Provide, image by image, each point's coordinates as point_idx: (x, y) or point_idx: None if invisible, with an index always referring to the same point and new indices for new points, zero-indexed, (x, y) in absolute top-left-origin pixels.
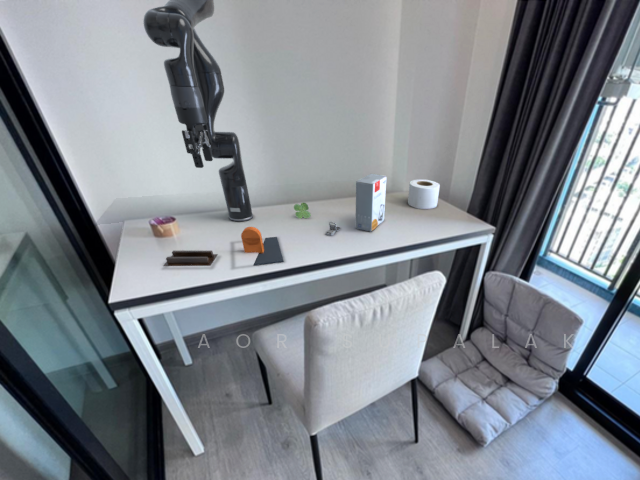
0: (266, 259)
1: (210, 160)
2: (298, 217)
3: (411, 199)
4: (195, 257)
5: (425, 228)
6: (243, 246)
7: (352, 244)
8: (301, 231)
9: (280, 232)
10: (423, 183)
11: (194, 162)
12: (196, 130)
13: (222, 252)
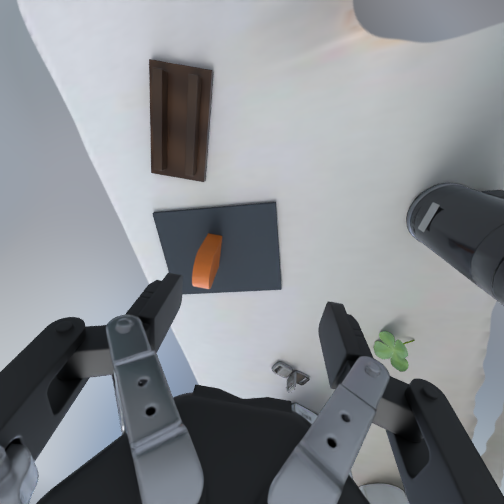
0: (179, 269)
1: (321, 324)
2: (382, 332)
3: (379, 498)
4: (157, 143)
5: None
6: (204, 240)
7: (233, 386)
8: (305, 328)
9: (310, 294)
10: None
11: (159, 286)
12: None
13: (226, 186)
